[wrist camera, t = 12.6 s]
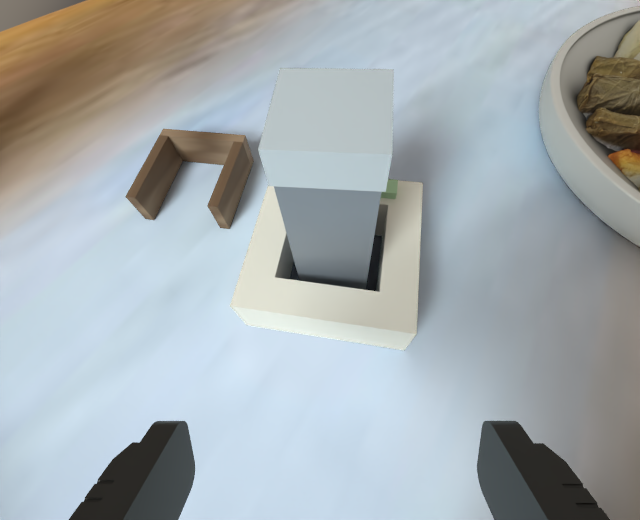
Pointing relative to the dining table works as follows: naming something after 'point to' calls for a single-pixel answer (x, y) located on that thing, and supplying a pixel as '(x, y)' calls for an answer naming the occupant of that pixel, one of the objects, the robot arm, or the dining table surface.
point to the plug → (330, 166)
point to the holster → (193, 148)
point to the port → (336, 301)
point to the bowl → (598, 118)
